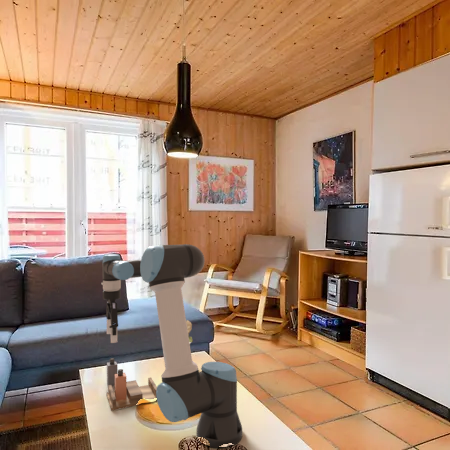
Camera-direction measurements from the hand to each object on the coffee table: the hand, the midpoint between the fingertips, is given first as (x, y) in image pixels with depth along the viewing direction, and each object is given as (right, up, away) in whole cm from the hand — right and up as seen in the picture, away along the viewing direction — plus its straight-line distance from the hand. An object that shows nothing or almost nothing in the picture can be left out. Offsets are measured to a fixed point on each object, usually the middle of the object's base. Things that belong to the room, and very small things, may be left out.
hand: (111, 337), depth 162 cm
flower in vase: (+31, -20, +13) cm, 40 cm away
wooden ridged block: (+13, -20, -13) cm, 27 cm away
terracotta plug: (+8, -19, -15) cm, 26 cm away
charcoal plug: (0, -20, 0) cm, 20 cm away
